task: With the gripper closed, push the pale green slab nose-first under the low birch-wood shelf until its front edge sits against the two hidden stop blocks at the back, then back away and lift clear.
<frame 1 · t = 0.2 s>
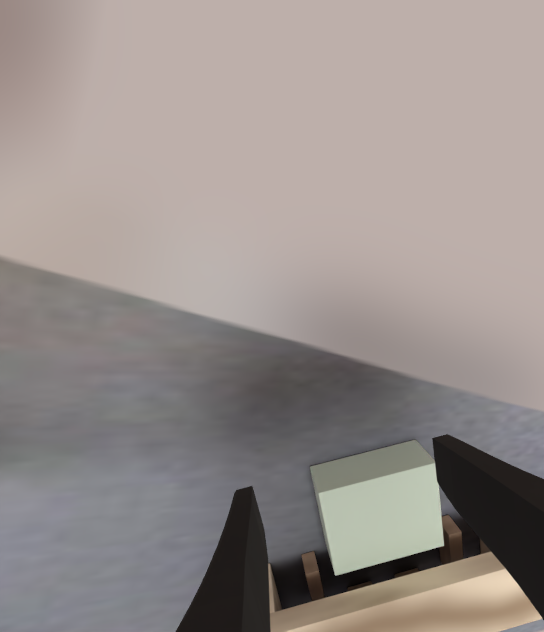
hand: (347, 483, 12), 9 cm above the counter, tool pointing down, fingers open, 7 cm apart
overhang shelf: (380, 561, 25), on the counter
pale green slab: (369, 492, 24), on the counter
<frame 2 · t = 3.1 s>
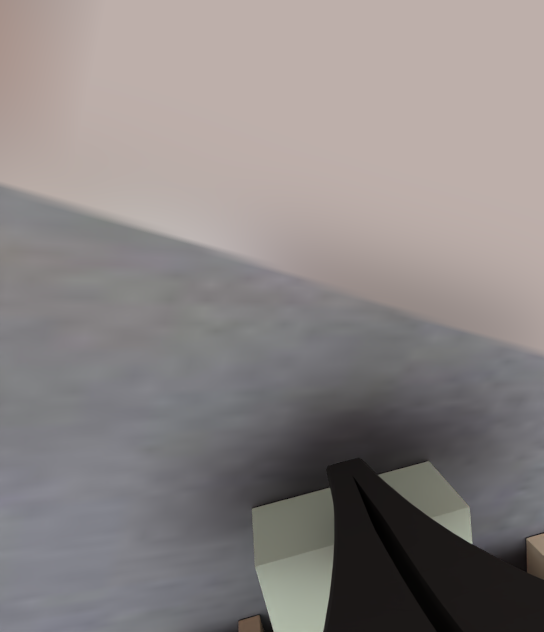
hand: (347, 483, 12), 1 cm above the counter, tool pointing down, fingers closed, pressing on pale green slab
overhang shelf: (369, 626, 16), on the counter
pale green slab: (353, 547, 14), on the counter, touching gripper
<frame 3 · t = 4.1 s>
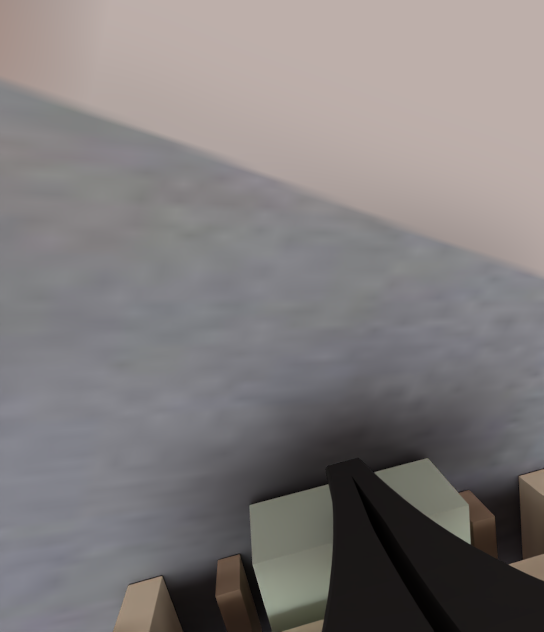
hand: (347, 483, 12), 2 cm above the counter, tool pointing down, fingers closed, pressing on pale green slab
overhang shelf: (355, 570, 15), on the counter
pale green slab: (351, 542, 14), on the counter, touching gripper, overhang shelf
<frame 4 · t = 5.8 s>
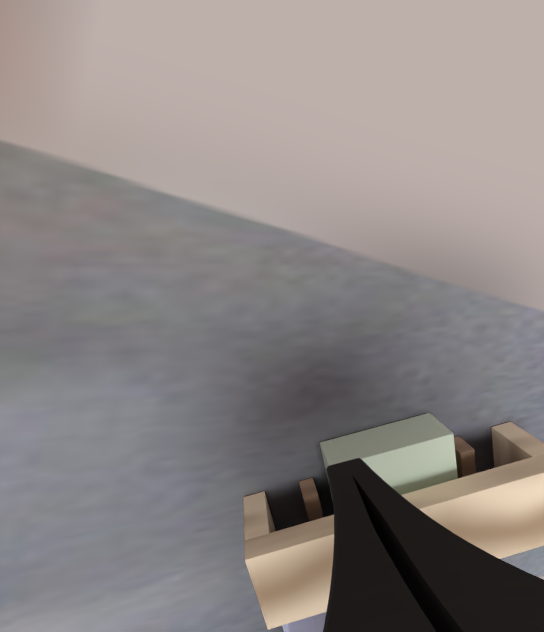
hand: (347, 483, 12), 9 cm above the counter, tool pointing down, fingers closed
overhang shelf: (385, 489, 23), on the counter
pale green slab: (382, 469, 23), on the counter
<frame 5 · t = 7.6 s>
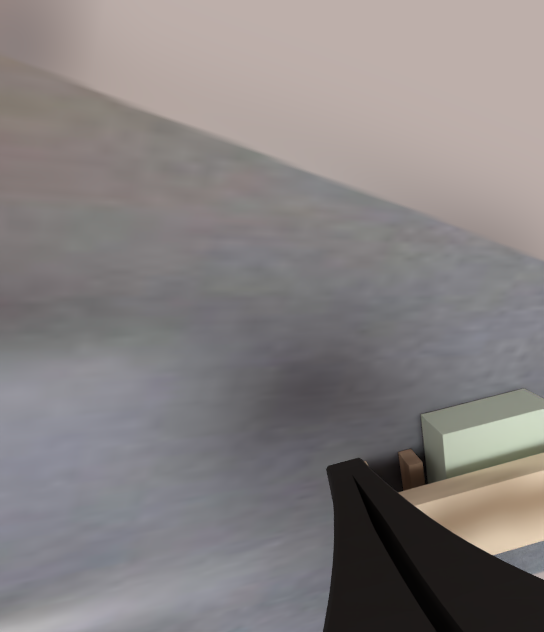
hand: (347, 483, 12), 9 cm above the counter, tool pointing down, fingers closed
overhang shelf: (476, 462, 24), on the counter
pale green slab: (475, 442, 24), on the counter
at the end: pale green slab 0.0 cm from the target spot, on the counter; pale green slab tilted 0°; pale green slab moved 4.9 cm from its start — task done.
